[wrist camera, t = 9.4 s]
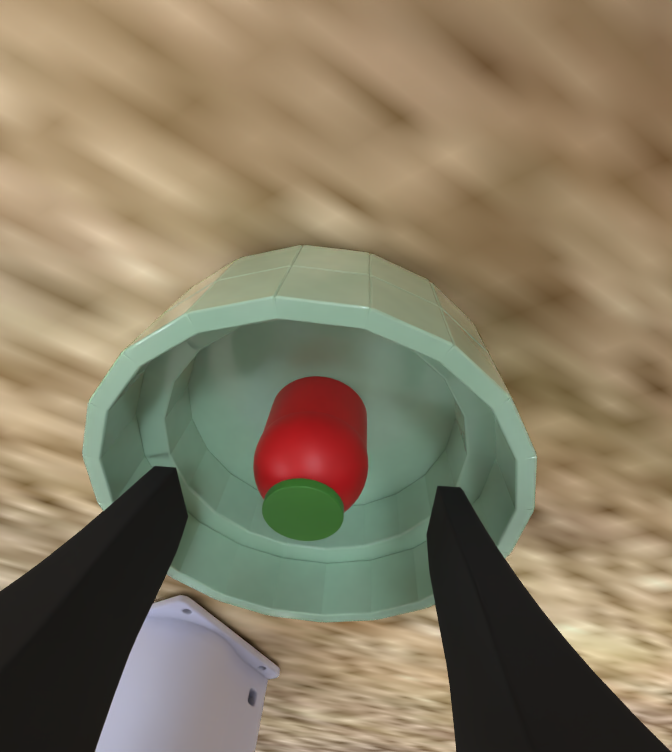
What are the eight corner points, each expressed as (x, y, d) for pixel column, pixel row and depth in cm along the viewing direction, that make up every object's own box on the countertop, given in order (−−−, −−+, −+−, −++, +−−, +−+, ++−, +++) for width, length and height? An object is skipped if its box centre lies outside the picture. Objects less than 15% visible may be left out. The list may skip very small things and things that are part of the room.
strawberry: (385, 432, 15) (390, 535, 11) (304, 464, 16) (285, 567, 12) (336, 357, 13) (324, 449, 10) (251, 398, 14) (210, 494, 11)
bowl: (535, 462, 16) (589, 571, 12) (280, 544, 19) (258, 647, 16) (397, 155, 10) (414, 175, 7) (87, 350, 14) (-14, 433, 10)
